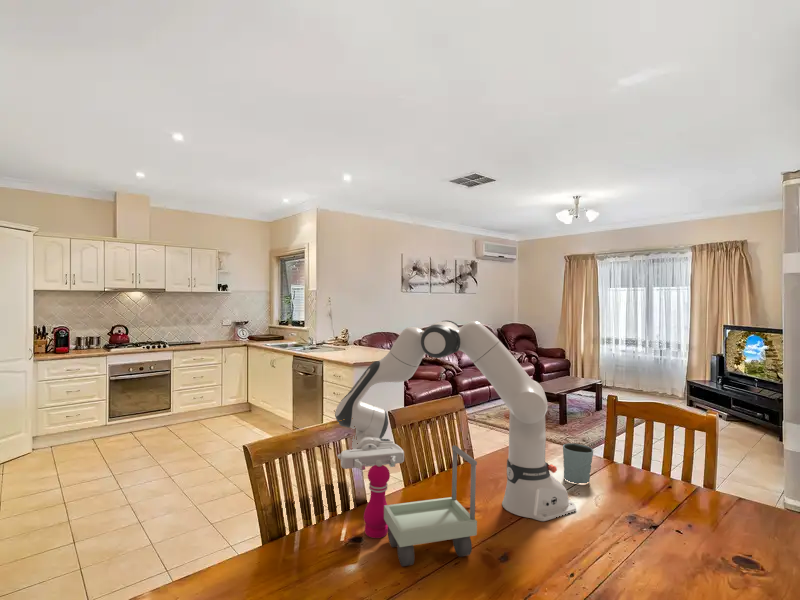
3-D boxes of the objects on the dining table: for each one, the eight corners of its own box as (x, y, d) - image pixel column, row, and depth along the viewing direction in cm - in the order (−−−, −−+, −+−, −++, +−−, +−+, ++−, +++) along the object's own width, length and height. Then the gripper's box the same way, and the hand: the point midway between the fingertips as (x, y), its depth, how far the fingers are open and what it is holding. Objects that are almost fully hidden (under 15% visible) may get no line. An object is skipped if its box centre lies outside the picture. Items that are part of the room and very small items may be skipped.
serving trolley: (452, 529, 124) (454, 443, 124) (476, 559, 110) (479, 461, 110) (382, 540, 118) (384, 449, 118) (399, 572, 104) (401, 469, 104)
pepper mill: (386, 541, 118) (389, 467, 117) (359, 537, 119) (363, 463, 118) (391, 526, 125) (395, 456, 124) (366, 523, 126) (370, 453, 125)
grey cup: (556, 476, 164) (557, 444, 164) (579, 474, 167) (580, 442, 167) (574, 488, 154) (575, 453, 154) (598, 485, 157) (599, 451, 157)
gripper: (336, 444, 145) (344, 458, 132) (396, 438, 151) (409, 452, 138) (336, 463, 145) (344, 480, 132) (396, 457, 151) (409, 472, 138)
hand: (378, 465), depth 135 cm, fingers open, 8 cm apart
